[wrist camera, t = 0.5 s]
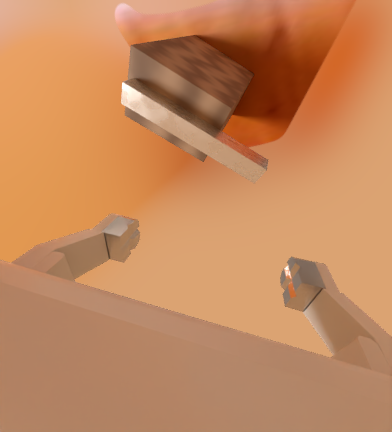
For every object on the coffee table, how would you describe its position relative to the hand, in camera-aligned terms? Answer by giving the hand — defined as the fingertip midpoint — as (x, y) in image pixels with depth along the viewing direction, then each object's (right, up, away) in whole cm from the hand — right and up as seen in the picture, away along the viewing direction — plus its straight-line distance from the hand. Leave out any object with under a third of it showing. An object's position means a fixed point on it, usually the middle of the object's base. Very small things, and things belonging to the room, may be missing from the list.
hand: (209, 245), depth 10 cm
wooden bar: (0, +16, +20) cm, 25 cm away
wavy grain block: (+4, +36, +36) cm, 51 cm away
